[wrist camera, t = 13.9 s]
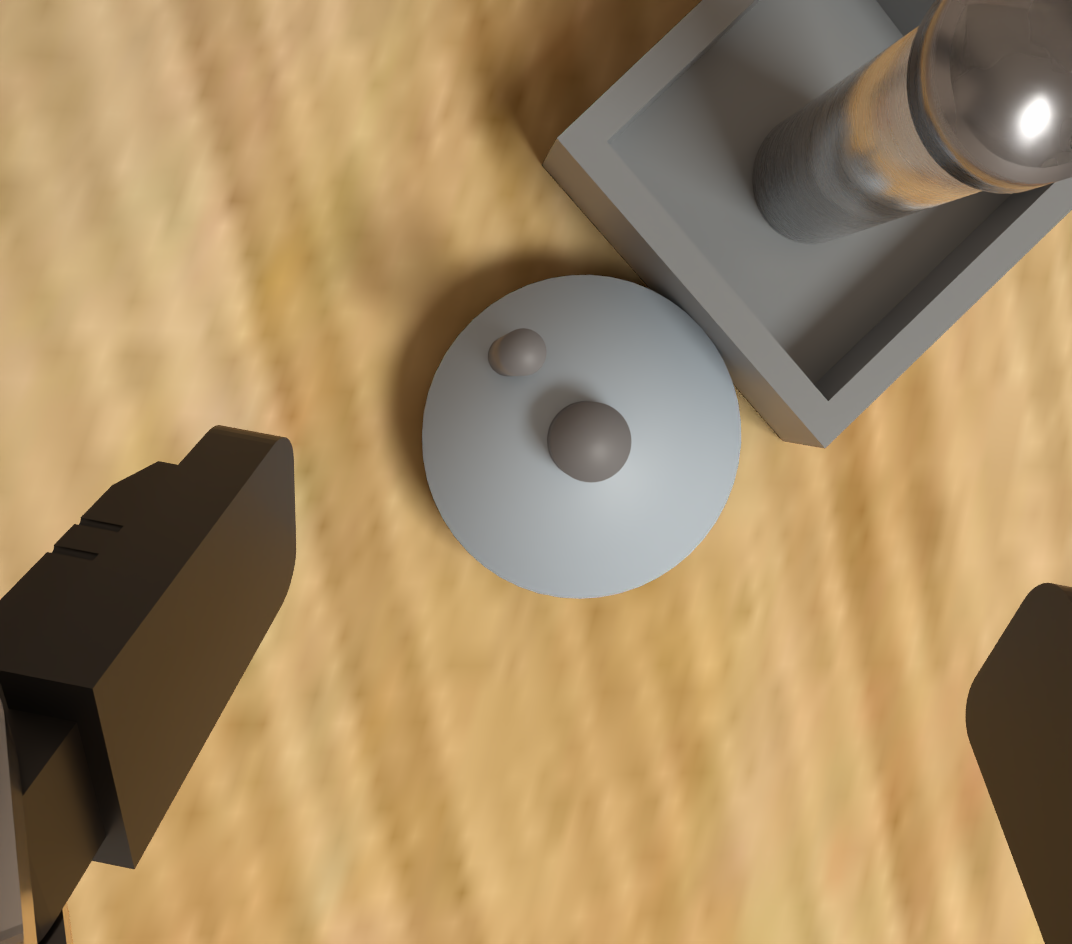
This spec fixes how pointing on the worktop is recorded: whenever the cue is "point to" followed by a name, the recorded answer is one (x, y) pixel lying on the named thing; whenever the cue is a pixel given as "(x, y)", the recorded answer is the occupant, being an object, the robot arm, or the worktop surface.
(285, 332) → the worktop surface
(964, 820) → the worktop surface
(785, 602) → the worktop surface
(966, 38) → the salt shaker
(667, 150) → the tray
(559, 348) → the pot lid
